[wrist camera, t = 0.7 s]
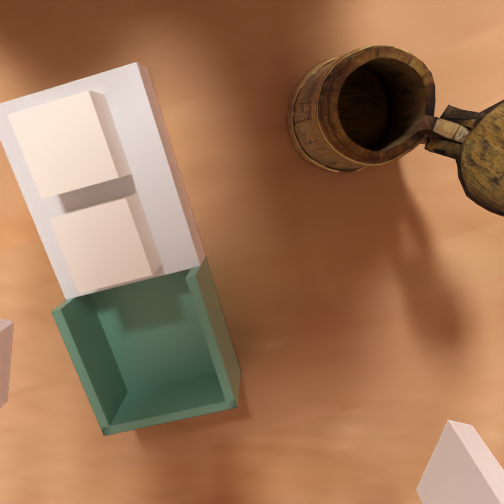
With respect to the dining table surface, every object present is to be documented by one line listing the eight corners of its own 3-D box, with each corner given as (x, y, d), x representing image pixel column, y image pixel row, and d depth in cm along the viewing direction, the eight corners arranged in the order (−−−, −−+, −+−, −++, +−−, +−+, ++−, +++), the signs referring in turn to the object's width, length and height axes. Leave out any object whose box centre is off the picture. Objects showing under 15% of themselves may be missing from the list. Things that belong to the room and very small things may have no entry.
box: (80, 287, 38) (51, 311, 33) (205, 255, 37) (195, 275, 32) (124, 397, 41) (103, 436, 36) (241, 371, 40) (237, 407, 34)
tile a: (31, 116, 31) (7, 114, 28) (105, 94, 31) (88, 90, 28) (61, 193, 33) (41, 199, 30) (132, 174, 32) (118, 177, 29)
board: (10, 110, 34) (-13, 107, 31) (147, 68, 33) (136, 61, 30) (80, 287, 38) (65, 299, 35) (205, 255, 37) (200, 265, 34)
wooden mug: (416, 210, 35) (563, 281, 18) (270, 147, 34) (276, 157, 17) (470, 108, 33) (700, 76, 16) (316, 37, 32) (377, -83, 15)
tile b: (67, 211, 33) (49, 219, 30) (138, 192, 32) (125, 198, 30) (94, 280, 35) (78, 293, 32) (162, 263, 34) (152, 275, 31)
